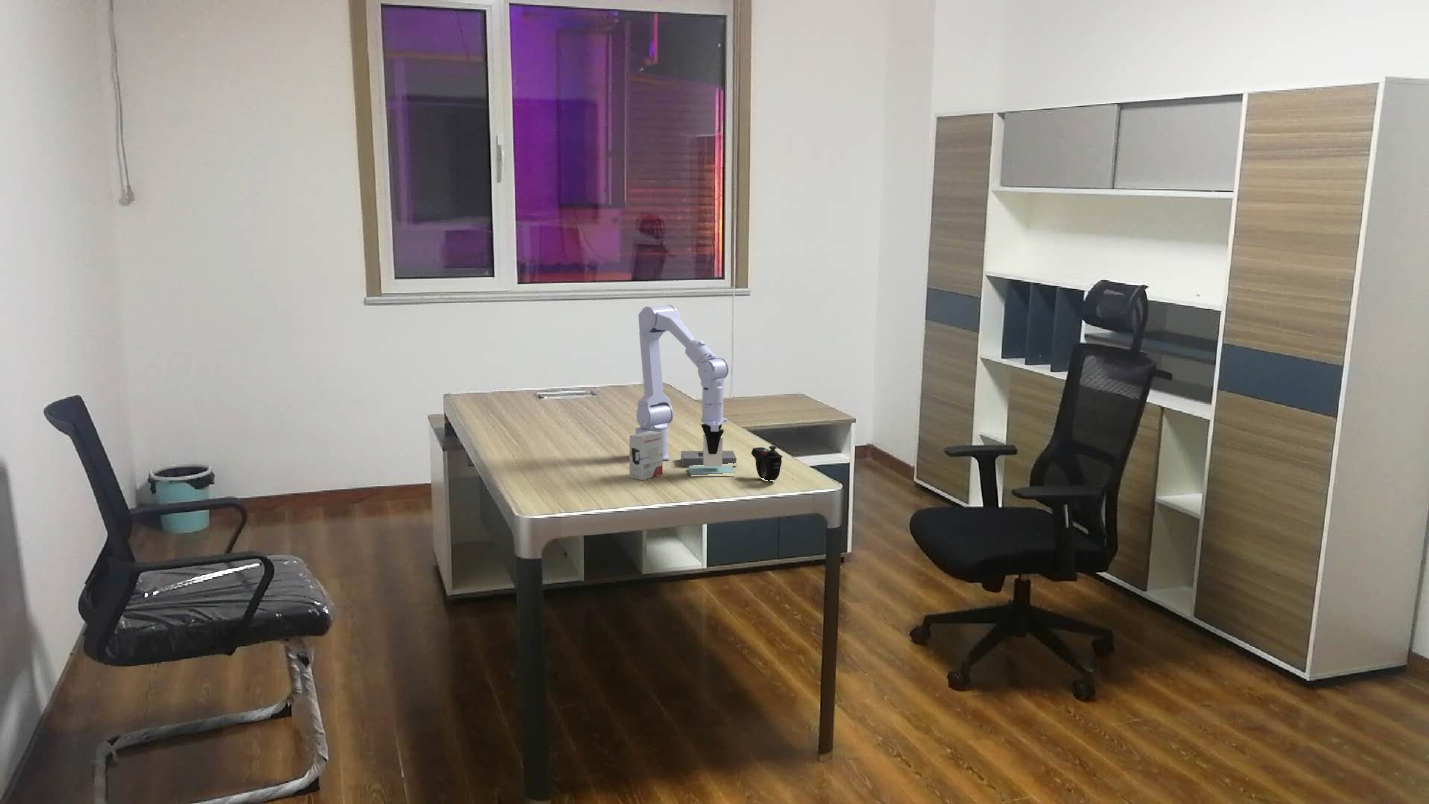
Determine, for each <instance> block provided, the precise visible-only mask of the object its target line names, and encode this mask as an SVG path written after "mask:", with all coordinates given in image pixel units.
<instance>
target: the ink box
mask: <svg viewBox="0 0 1429 804" xmlns="http://www.w3.org/2000/svg"><path fill="white" fill-rule="evenodd" d="M663 461H664V460H663V433H661V432H653V431H647V432H643V433H639V434H636V433H634V434H631V435H629V478H631V479H634V478H636V479H635V480H638V479H639V481H644V479H645V480H648V479H651V477H652V478H654V476H655V477H658V476H657V475H659V476H662V475H663V472H664V471H663V467H664V466H663V464H664V462H663ZM647 478H648V479H647Z"/></svg>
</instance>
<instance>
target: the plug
mask: <svg viewBox="0 0 1429 804" xmlns="http://www.w3.org/2000/svg"><path fill="white" fill-rule="evenodd" d="M702 436H703V437H702V451H703V465H704V466H722V451H724V449H723V444H724V443H723V442H724V441H723V438H724V437H723V435H722V436H721V438H720V441H719V446H718V451H717V454H709V452H708V447H707V440H706V436H705V434H703V435H702Z"/></svg>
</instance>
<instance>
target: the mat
mask: <svg viewBox="0 0 1429 804" xmlns="http://www.w3.org/2000/svg"><path fill="white" fill-rule="evenodd" d="M689 470H690V472H689V474H691V475H708V474H723V473H735V474H736V472H735V470H734V467H732V466H689V467H688V471H689Z"/></svg>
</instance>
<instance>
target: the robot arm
mask: <svg viewBox="0 0 1429 804" xmlns="http://www.w3.org/2000/svg"><path fill="white" fill-rule="evenodd" d="M637 316H638V326H639V334H638V335H639V345H640V356H641V369H642V382H643V392H644V393H643V396H642V397H641V398H639V400H638V401H637V402H636V403H637V410H636V417H635V418H636V421H637V423H638V425H639V427H635V434H639V433H643V432H647V431H653V432H661V433H663V461H669V460H670V456H669V452H668V427H670V424H671V423H672V422H673V420H674V410H673V407H672V403H671V398H670V397H669V396H668V395H667V394H665V392H664V386H663V385H664V384H663V376H662V375H663V373H662V362H661V361H662V360H661V349H660V348H661V347H660V338H661V337H662V336H663V335H664V333H666V332H670V334H671V335H672V336H673V337H675V339H676V340H678V341H679V343H681V345H683V346H684V347H685V350H684V351H685V352H684V353H685V355H686V356H687V357H688V358H689V359H690V361H692V363H693V364H694V365H695V367H696V368H697V374H698V377H699V378H700V385H701V387H702V394H701V396H702V397H701V398H702V399H701V401H702V404H701V405H702V406H701V411H702V412H701V418H700V419H701V420H700V421H701V423H702V424H700V426H701V428H702V431H703V433H704V434H703V435H705V436H706V440H707V447H708V452H709V454H717V451H718V446H719V441H720V438H721V436H722V437H723V434H724V432H725V429H723V428H722V427H723V425H722V424H723V423H728V418H727V417H724V387H725V385H724V384H725V383H724V382H725V381H724V380H725V378H727V376H728V374H729V365H728V363H727V362H726V359H724V358H723V357H718V356H717V355H715V354H714V352H712V350H710V348H709V347H708V346H707V344H706V342H705V341H704V340H702V339H696V338H695V337H694V335H692V333H691V332H690V330H689V328H688V327H687V326H686V324H685V323H684V322H683V320H682V319H681V313H680V311H678V310H677V308H676V307H675V306H674V305H673V304H666V305H658V306H657V305H655V306H645V307H643V308H642V309H641V310H640V312H639V313H638V314H637Z"/></svg>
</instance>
